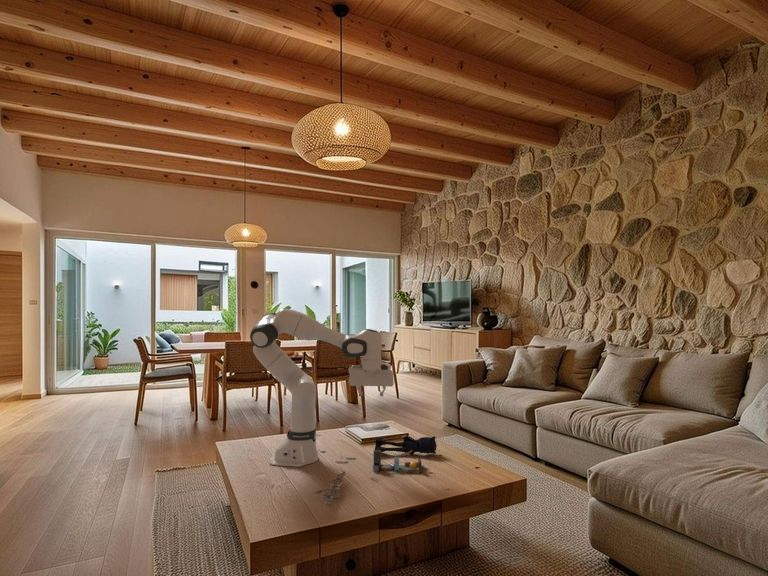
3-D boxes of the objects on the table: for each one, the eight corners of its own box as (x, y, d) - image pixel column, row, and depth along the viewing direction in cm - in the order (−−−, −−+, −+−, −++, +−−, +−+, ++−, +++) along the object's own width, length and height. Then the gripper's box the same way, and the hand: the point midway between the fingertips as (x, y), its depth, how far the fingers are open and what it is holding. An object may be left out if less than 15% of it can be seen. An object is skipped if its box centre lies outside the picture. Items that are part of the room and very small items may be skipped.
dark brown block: (373, 472, 196) (373, 465, 196) (374, 467, 202) (374, 460, 203) (378, 472, 196) (378, 465, 196) (379, 467, 202) (379, 460, 202)
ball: (419, 466, 197) (414, 472, 197) (419, 463, 201) (413, 469, 201) (413, 461, 197) (408, 467, 197) (413, 458, 201) (407, 464, 201)
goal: (405, 473, 194) (405, 461, 195) (404, 465, 203) (404, 454, 204) (421, 473, 194) (421, 461, 194) (420, 465, 203) (420, 454, 203)
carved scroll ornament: (318, 516, 158) (317, 504, 158) (337, 480, 188) (336, 470, 188) (331, 516, 158) (331, 504, 158) (348, 480, 188) (347, 470, 188)
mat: (392, 474, 194) (392, 473, 194) (392, 465, 204) (392, 465, 204) (425, 474, 194) (425, 473, 194) (423, 465, 204) (423, 465, 204)
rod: (372, 471, 197) (372, 452, 197) (373, 467, 202) (372, 449, 202) (399, 471, 197) (398, 452, 197) (399, 467, 202) (398, 448, 202)
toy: (375, 458, 221) (437, 457, 218) (372, 455, 213) (437, 454, 210) (375, 437, 226) (436, 436, 223) (373, 433, 218) (436, 432, 215)
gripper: (347, 365, 203) (347, 396, 202) (393, 366, 202) (393, 397, 202) (349, 363, 209) (349, 394, 209) (393, 364, 208) (393, 394, 208)
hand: (371, 395), depth 205 cm, fingers open, 8 cm apart
